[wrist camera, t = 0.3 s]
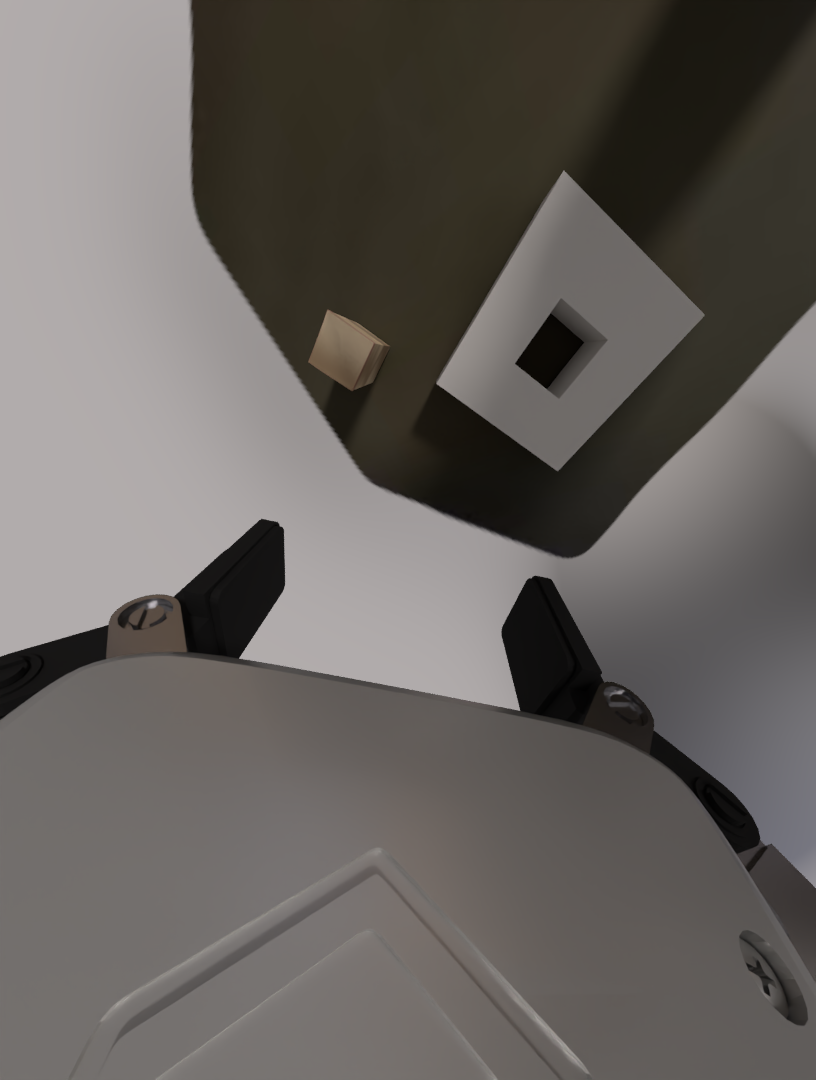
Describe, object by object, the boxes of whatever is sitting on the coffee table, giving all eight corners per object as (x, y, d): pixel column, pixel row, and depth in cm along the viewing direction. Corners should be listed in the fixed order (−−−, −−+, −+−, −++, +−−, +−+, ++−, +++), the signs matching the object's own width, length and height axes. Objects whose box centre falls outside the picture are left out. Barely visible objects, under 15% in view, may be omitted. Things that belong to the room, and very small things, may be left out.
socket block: (542, 201, 26) (563, 170, 21) (665, 321, 29) (705, 315, 25) (436, 380, 33) (436, 383, 29) (543, 458, 37) (557, 471, 32)
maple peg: (357, 322, 31) (327, 309, 23) (390, 346, 32) (373, 343, 24) (341, 360, 33) (308, 362, 25) (373, 382, 34) (351, 391, 25)
